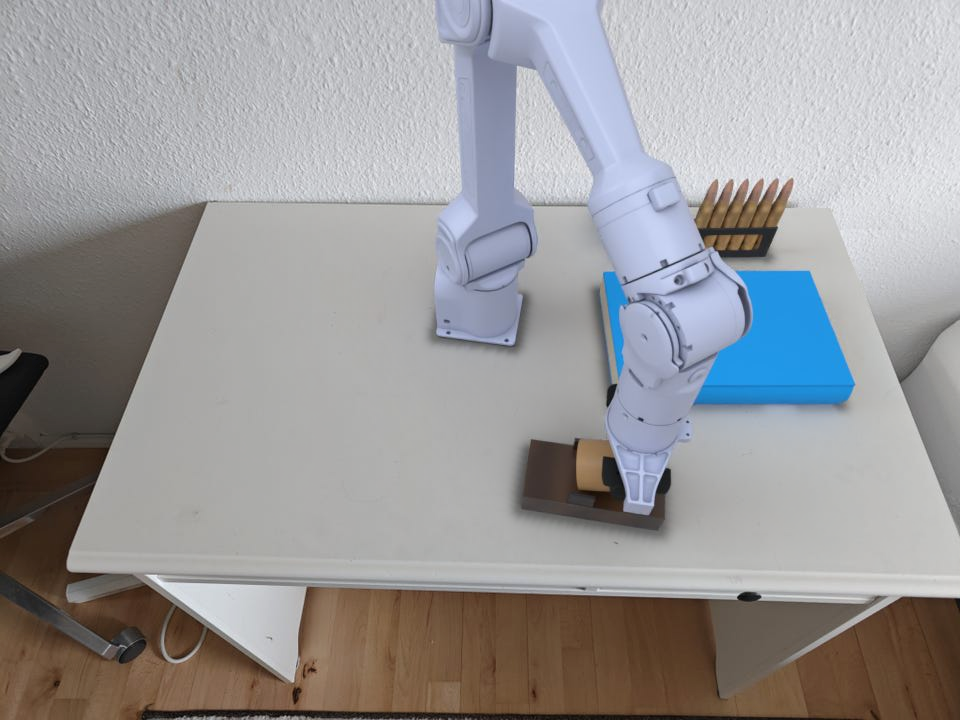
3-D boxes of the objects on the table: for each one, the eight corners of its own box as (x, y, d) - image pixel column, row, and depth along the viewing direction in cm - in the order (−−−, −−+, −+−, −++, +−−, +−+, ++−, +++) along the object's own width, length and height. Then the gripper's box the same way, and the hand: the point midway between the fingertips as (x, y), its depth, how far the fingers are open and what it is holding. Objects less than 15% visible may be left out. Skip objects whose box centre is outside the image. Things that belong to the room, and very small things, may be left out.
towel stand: (521, 508, 63) (523, 489, 60) (529, 452, 67) (531, 430, 63) (658, 530, 62) (669, 512, 58) (658, 471, 66) (669, 450, 62)
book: (601, 271, 76) (810, 266, 76) (596, 295, 80) (796, 290, 80) (620, 391, 67) (860, 386, 66) (614, 412, 70) (842, 407, 70)
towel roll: (579, 498, 61) (574, 475, 57) (583, 453, 64) (578, 429, 60) (656, 503, 59) (655, 480, 55) (657, 457, 62) (656, 432, 58)
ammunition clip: (761, 246, 84) (798, 172, 74) (765, 256, 83) (803, 183, 73) (681, 247, 84) (707, 174, 74) (684, 257, 83) (710, 184, 73)
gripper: (711, 488, 44) (666, 552, 55) (704, 326, 52) (667, 410, 63) (609, 473, 45) (585, 539, 56) (618, 315, 53) (596, 400, 64)
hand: (623, 470), depth 60 cm, fingers closed on towel roll, 5 cm apart
